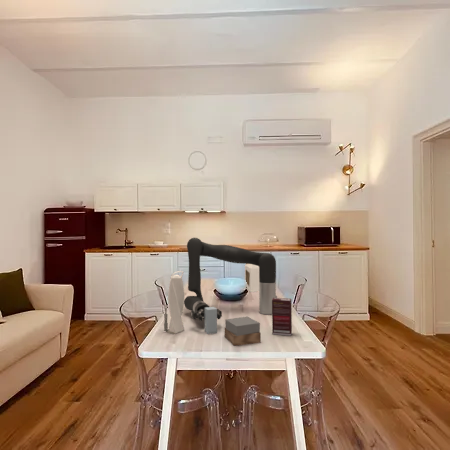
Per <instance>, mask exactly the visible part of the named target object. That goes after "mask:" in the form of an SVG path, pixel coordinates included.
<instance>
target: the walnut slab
mask: <svg viewBox="0 0 450 450" xmlns="http://www.w3.org/2000/svg"><path fill="white" fill-rule="evenodd" d="M224 338H225V339H226V340H228V342H229V343H231V345H232V346H234V347H235V346H236V347H237V346H242V345H244V346H245V345H251V344H259V343H261V331H260V332H258V333H252V334H246V335H240V336H236V335H234V334H233V333H231V332H230V331H229V330H227V329H225V328H224Z"/></svg>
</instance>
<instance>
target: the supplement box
mask: <svg viewBox="0 0 450 450" xmlns="http://www.w3.org/2000/svg"><path fill="white" fill-rule="evenodd" d="M292 305H293V304H292V298H287V297H286V298H283V297H277V298H273V299H272V314H271V316H272V317H271V319H272V320H271V321H272V323H271V324H272V325H271V329H272V330H271V331H272V332H271V333H272V335H275V336H276V335H277V336H290V337H291V336H292V331H293V328H292V327H293V324H292V323H293V322H292V320H293V319H292V317H293V314H292V313H293V310H292Z"/></svg>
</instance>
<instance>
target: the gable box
mask: <svg viewBox="0 0 450 450" xmlns="http://www.w3.org/2000/svg"><path fill="white" fill-rule="evenodd" d="M245 280H246V282H247V288H246V290H247V291H249V293H258V292H257V291H259V266H257V265H253V264H245V265H244V281H245Z"/></svg>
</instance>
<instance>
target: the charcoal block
mask: <svg viewBox="0 0 450 450" xmlns="http://www.w3.org/2000/svg"><path fill="white" fill-rule="evenodd" d="M224 322H225V324H224V326H225V327H224V330H225V329H227V330H229V331H230V332H231V333H233V334H234V335H236V336H240V335H246V334H252V333H258V332H260V333H261V326H260V325H261V323H260V322H259V321H257V320H255V319H253V318H252V317H249V316H241V317H234V318H226V319H225V321H224Z"/></svg>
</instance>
